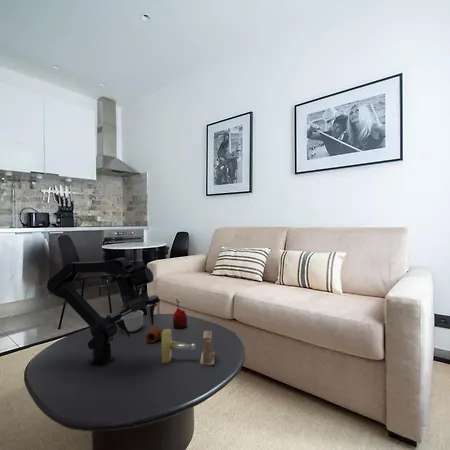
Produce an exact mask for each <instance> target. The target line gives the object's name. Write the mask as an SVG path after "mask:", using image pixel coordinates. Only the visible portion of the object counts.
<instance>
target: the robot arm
mask: <svg viewBox="0 0 450 450" xmlns="http://www.w3.org/2000/svg"><path fill="white" fill-rule="evenodd" d="M78 273H104V274H106V275H112V277H111V279H110V281H109V284H113V283H116V287H117V291H118V293H119V298H120V299H121V301H122V304H123V310H121V311H119V310H116V311H114V312H113V311H112V312H111V313H108V314H106V316H105V317H103V316H101V315H100V314H99V313H98V312H97V311H96V310H95V309H94V307H92V305H91V304H90V303H88V301H87V300H86V299H85V298H84V297H83V296H82V295H81V294H80V292H79V291H77V288H76V284H75V279H76V278H77V276H78ZM153 282H154V274H153V271H152V270H151V268H150V267H148V265H147V264H145V265H144V264H143V265H141V266H140V267H138V268H137V267H136V266H135V265H133V264H131V262H130V261H129V260H128V259H127V258H126V257H118V258H114V259H109V260H105V261H103V260H102V261H71V262H68V263H67V264H65V266H64V267H63V268H62V269H60V270H59V271H57V273H56V274H55V275H53V276H52V277H51V278H49V279H48V280H47V283H46V289H47V291H49V293H51V294H52V295H54V296H55V297H57V298H60V299H63V300H64V301H65V302H67V303H66V304H68V305H69V306H70V308H72V310H74V311H75V313H76V314H77V315H79V317H80V318H81V319H82V320H83V321H84V322H85V323H86V324H87V325H88V326H89V329H90V333H91V336H92V338H91V340H89V341H88V342H87V347H88V349H89V350H92V352H91V353H92V355H91V356H92V359H90V360H88V363H90V364H92V365H95V366H97V367H102V366H103V365H104V364H105V365H106V364H107V363H109V362H111V361H113V360H115V357H113V356H112V349H111V343H110V342H112V341H113V340H114V338H115V337H116V335H117V334H118V327H119V328H120V330H122V331H123V333H124V334H125V335H126V337H128V338H130V335H131V334H130V333H129V332H128V330H127V328H126V326H125V323H124V319H121V317H122V316H124V315H126V314H128V313H131V312H136V311H138V310H141V309H145V310H146V312H147V316H148V320H149V322H150V325H151V326H153V325H154V313H155V312H154V311H155V308H156V307H157V306H158V303H160V301H161V300H160V298H159V296H158V295H151V296H149V294H148V292H146V291H144V292H141V293H140V294H139V293H138V292H139V291H138V290H136V287H141V286H144V285H147V284H151V283H153Z"/></svg>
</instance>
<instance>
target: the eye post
mask: <svg viewBox="0 0 450 450" xmlns="http://www.w3.org/2000/svg"><path fill="white" fill-rule="evenodd" d="M212 331H213V330H204V331H203V337H202V352H201V357H200V363H199V366H200V365H214V366H215V356H214V355H215V353H216V352H215V351H213V332H212Z"/></svg>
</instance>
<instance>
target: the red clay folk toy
mask: <svg viewBox="0 0 450 450" xmlns="http://www.w3.org/2000/svg"><path fill="white" fill-rule="evenodd" d="M175 301H176V304H177V305H176V306H177V308H176V310H175V312H174V314H173V317H172V319H173V320H172V323H173V327H174V328H175V329H184V328H187V326H188V317H187V314H186V311H185V310H183V309H181V308H179V304H180V301H179V299H178V298H175Z"/></svg>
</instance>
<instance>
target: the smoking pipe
mask: <svg viewBox="0 0 450 450" xmlns="http://www.w3.org/2000/svg"><path fill="white" fill-rule="evenodd" d="M162 332H163V329H161V328H159V327H152V328H151V329H149V331H148V332H147V334H146V335H145V339H146V341H147V342H148V343H150V344H153V343H155V342H157V341H159V340H162ZM172 344H187V343H186V342H179V341H175V340H173V339H172Z"/></svg>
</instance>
